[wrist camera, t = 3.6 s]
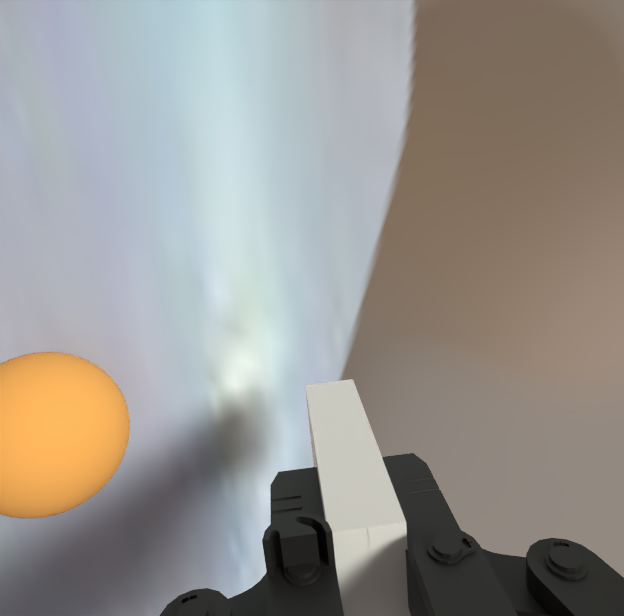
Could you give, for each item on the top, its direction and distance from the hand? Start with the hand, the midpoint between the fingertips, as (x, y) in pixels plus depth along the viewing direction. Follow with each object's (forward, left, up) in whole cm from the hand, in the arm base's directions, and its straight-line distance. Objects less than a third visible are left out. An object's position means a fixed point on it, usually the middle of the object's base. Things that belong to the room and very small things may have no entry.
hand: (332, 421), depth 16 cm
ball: (-7, +7, -2) cm, 10 cm away
